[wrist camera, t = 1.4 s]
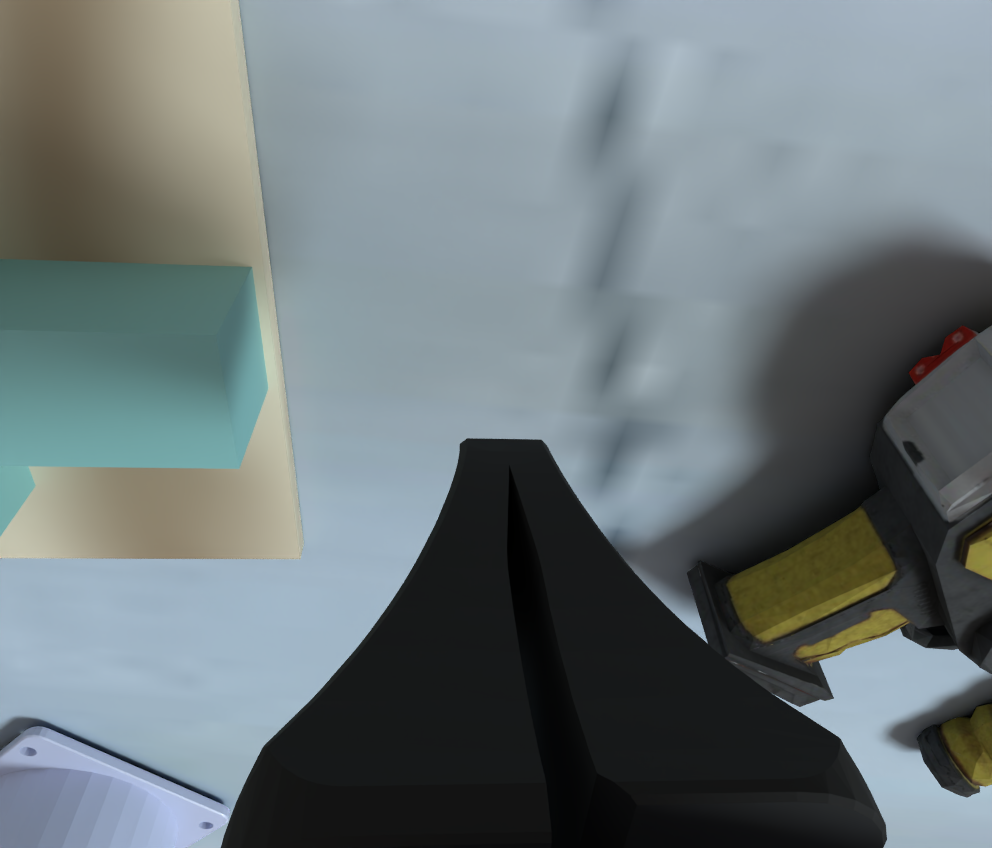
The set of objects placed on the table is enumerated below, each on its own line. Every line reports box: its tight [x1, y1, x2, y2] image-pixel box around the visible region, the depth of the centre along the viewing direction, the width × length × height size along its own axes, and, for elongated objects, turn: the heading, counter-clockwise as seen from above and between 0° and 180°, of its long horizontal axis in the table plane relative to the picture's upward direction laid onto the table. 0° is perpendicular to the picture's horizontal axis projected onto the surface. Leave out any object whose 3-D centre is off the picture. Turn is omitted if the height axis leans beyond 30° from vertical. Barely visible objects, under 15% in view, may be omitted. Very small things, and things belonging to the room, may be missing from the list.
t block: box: [0, 259, 269, 536], centre depth 15 cm, size 9×9×3 cm
